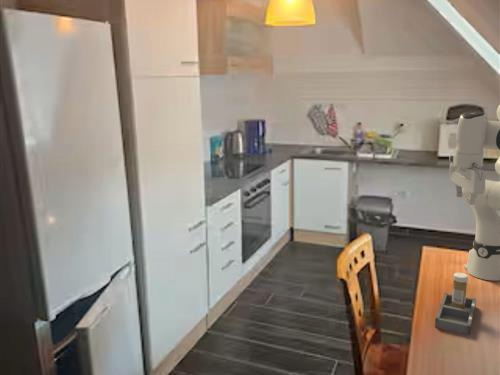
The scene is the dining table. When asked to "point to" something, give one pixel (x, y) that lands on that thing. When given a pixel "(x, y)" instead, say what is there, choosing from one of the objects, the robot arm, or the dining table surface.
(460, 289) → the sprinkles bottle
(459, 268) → the dining table surface
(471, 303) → the grey divided tray
